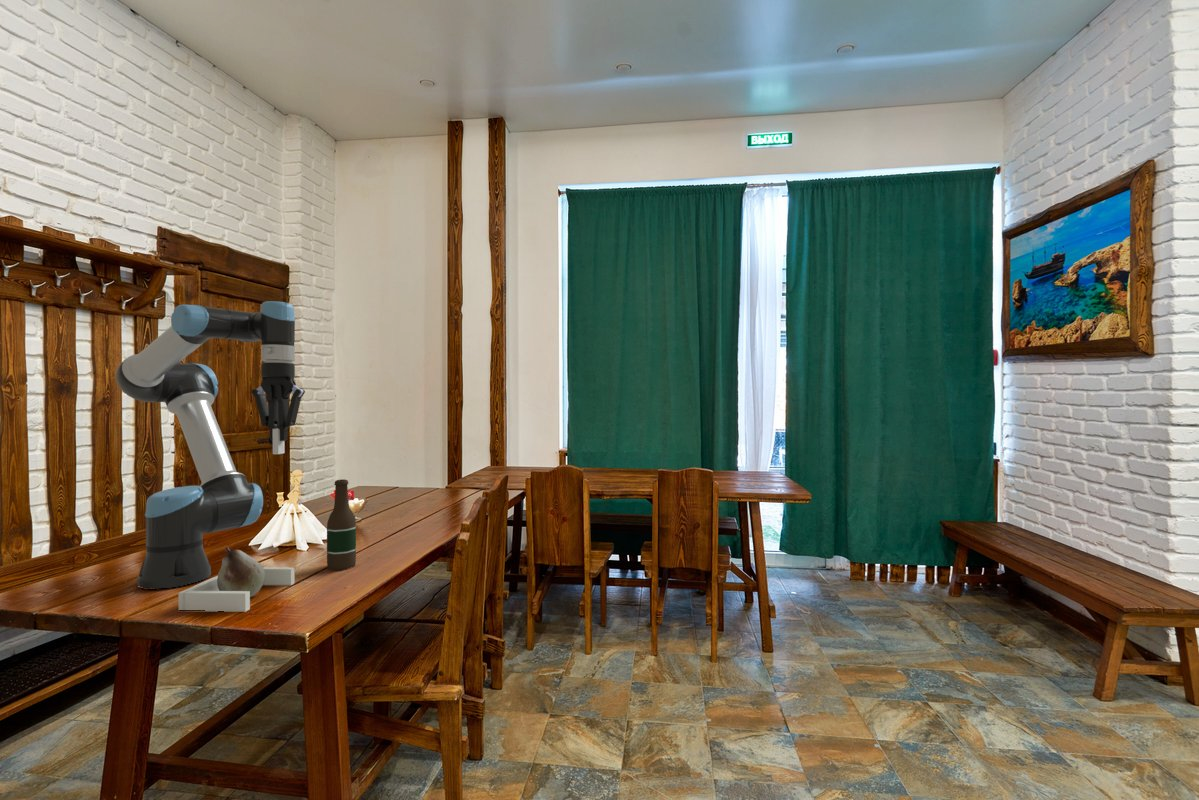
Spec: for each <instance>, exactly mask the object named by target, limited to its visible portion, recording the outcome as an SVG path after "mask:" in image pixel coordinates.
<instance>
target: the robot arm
mask: <svg viewBox="0 0 1199 800" xmlns="http://www.w3.org/2000/svg"><path fill="white" fill-rule="evenodd" d="M170 318H171V319H170V324H171V326H170V327H168V328H167V329H166V330H165V331H164V332H162V334H159V336H158V337H157V338H155V339H154V340H153V341H152V342H150V343H149V344H148V345H147V346H145V348H144V349H142V350H141V351H140V352H139V353H137V354H135V353H134V354H132V355H129V356H127V357H126V358H125V359H124V360H123V361H122V362H121V363H120V364H119V365H118V367H117V369H116V371H115V372H116V373H115V379H116V382H117V383H116V384H117V385H118V387H119V389H120V391H122V392H123V393H124V394H125V395H127V396H128V397H130V398H131V399H134V400H136V401H139V402H144V403H164V404H165V405H166V408H167V410H168V412H169V413H171V414H174V415H176V417H177V420H178V423H179V425H180V428H181V430H182V433H183V436H184V439H185V441H186V444H187V446H188V449H189V452H190V455H191V457H192V460H193V462H194V465H195V468H196V471H197V473H198V477H199V479H200V481H201V483H200V485H185V486H177V487H172V488H169V489H164V490H161V491H157V492H155V493H153V494H152V495H149V497H147V500H146V507H145V513H144V517H145V542H146V543H145V546H146V547H145V548H146V549H145V552H146V554H145V556H144V559H143V562H142V564H141V566H140V569H139V573H138V575H137V585H138V586H140V587H143V588H152V589H153V588H154V589H157V590H159V589H158V588H169V589H172V588H171V587H176V588H179V587H178V586H181V587H184V586H183V585H186V586H188V585H187V584H190V585H192V584H191V583H194V582H197V583H199V582H198V581H200V582H202V581H201V580H203V581H205V580H207V579H208V578H210V577H211V575H212V571H211V570H212V567H211V564H210V563H209V559H208V557H207V555H206V552H205V549H204V546H203V545H204V544H203V542H204V541H203V538H204V537H203V535H206V534H211V533H216V532H221V531H222V532H223V531H227V530H232V529H240V528H241V527H246V526H250V525H252V524H254V523H255V522H256V521H257V520H258V519H259V518H260V516H261V513H262V511H263V506H264V495H263V491H262V488H261V486H260V485H259V484H257V483H254V482H248V479H247V478H246V475H245V474H244V473H241V472H238V471H237V469H236V466H235V464H234V462H233V458H232V456H231V454H230V451H229V449H228V446H227V443H226V440H225V439H224V435H223V433H222V430H221V427H220V426H219V424H218V421H217V420H218V419H217V417H216V416H215V413H214V410H213V408H212V405H213V404H214V402H215V399H216V398H217V396H218V393H219V387H218V384H219V381H218V379H217V375H216V374H215V372H214V371H213V370H212V369H211V368H210V367H209V366H208V365H206V364H202V363H195V362H185V363H184V362H182V361H183V360H184V359H186V357H188V356H190V355H191V354H192V353H193V352H194V351H195V350H197V349H198V348H199V347H200V346H202V345H203V344H204V343H206V342H207V341H209V340H210V339H222V340H223V339H224V340H237V341H240V342H243V343H256V342H260V343H261V344H260V345H261V350H260V353H261V356H260V357H261V361H263V362H262V364H261V366H260V367H261V369H260V373H261V378H262V379H261V380H262V381H260V386H258V387H257V388H256V389H255V388H253V389H251V394H252V395H253V397H254V398H255V402H256V406H257V411H258V416H259V418H260V423H261V425H262V427H266V428H268V429H269V440H270V441H271V442H272V455H282V454H285V452H286V451H285V443H286V442H285V441H288V429H289V427H290V428H291V427H293V426H295V425H296V422H297V418H298V414H299V413H298V412H299V408H300V405H301V400H302V398H303V396H304V394H305V393H306V390H305V389H301V388H300V387H298V386H297V383H296V380H295V376H296V373H295V372H296V369H295V368H296V367H295V366H296V365H295V364H294V363H293V362H296V361H295V360H296V355H295V353H296V352H295V343H296V341H295V340H296V339H295V335H296V334H295V333H296V332H295V329H296V318H295V308H294V306H293V305H292V304H291V303H289V302H285V301H275V300H274V301H273V300H272V301H271V300H270V301H269V300H268V301H263V302H262V303H261V305H260V312H259V311H258V312H250V311H242V310H235V309H227V308H226V309H225V308H219V307H217V308H216V307H211V306H202V305H199V304H185V303H184V304H179V305H177V306H176V307H174V309H173V312H172V313H171V317H170ZM265 394H266V395H265ZM291 394H292V395H291ZM266 396H267V397H266ZM290 396H291V398H290ZM206 578H207V579H206ZM204 579H205V580H204ZM194 584H195V583H194ZM138 586H137V587H138Z"/></svg>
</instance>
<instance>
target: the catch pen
mask: <svg viewBox="0 0 1199 800" xmlns="http://www.w3.org/2000/svg"><path fill="white" fill-rule="evenodd" d="M262 567H263V566H262ZM263 569H264V573H265V576H264V582H263V585H262V586H292V585H294V584H295V567H284V566H283V567H281V566H280V567H278V566H277V567H273V566H272V567H270V566H269V567H267V566H265V567H263ZM217 578H218V574H217V575H215V576H214V577H211V578H209V579H205V580H203V581H201V582H199V583H196V585H193V586H191V587H189V588H186V589H184V590H182V591H179V592H178V611H179V610H205V611H204V612H218V611H224V612H225V613H226V612H227V613H229V612H233V613H236V612H237V613H239V612H240V613H241V612H243V613H246V612H248V611H249V610H250V609H251V597H250V591H219V589H218V586H217ZM224 612H223V613H224Z"/></svg>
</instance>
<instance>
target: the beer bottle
mask: <svg viewBox="0 0 1199 800" xmlns="http://www.w3.org/2000/svg"><path fill="white" fill-rule="evenodd" d="M348 485H349V480H348V479H337V480H334V488H335V489H334V501H333V502H334V504H333V510H332V511H331V513H330V514H329V517H328V520H327V523H326V567H327V570H330V569H332V570H331V571H342V569H345V570H349V569H352V568H355V567H354V566H356V564H357V563H356V561H357V522H356V516H355V514H354V512H353V510H352V509H351V508H350V504H349V502H350V501H349V490H348V489H349V487H348ZM351 567H352V568H351ZM348 568H349V569H348Z"/></svg>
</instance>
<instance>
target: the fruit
mask: <svg viewBox="0 0 1199 800" xmlns="http://www.w3.org/2000/svg"><path fill="white" fill-rule="evenodd" d="M224 551H225V552H226V554H225V555H224V556H223V557H222V559H221V560H222V561H221V566H220V570H219V571H218V574H217V575H218V578H217V586H218V589H219V591H250V598H252V597H254V596H255V595H257V594H258V593H259V592H260V590H261V589H262V587H263V586H264V585H263V582H264V576H265V573H264V569H263V565H262V564H261V563H260V562H259V561H257V560H256V559H254V558H253V557H251V555H249V554H247V553H246V552H244V551H242V550H240V549H234V550H232V551H231V549H230V548H229V547H228V546H227V547H226V548H225V549H224Z"/></svg>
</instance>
